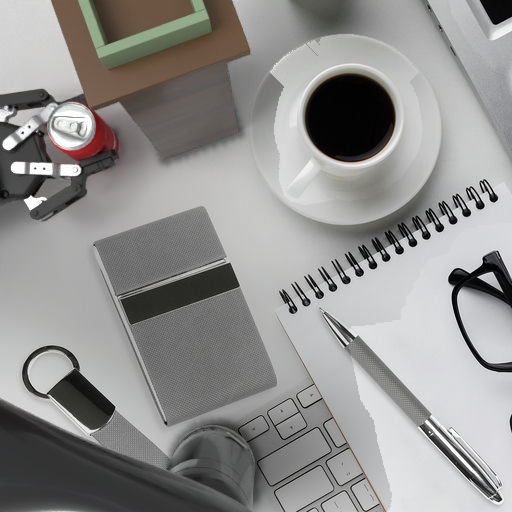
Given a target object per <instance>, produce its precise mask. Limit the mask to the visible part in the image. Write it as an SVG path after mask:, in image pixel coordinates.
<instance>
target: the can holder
mask: <svg viewBox="0 0 512 512" xmlns="http://www.w3.org/2000/svg"><path fill="white" fill-rule="evenodd" d="M50 3H51V5H52V8H53V11H54V14H55V16H56V19H57V22H58V24H59V27H60V30H61V33H62V36H63V39H64V41H65V44H66V47H67V50H68V54H69V56H70V58H71V61H72V64H73V66H74V70H75V72H76V75H77V78H78V82H79V84H80V86H81V89H82V93H83V94H84V95H85V98H86V101H87V103H88V106H89V108H90V109H91V110H92V111H95V112H96V111H98V110H99V111H100V110H102V109H104V108H107V107H110V106H112V105H115V104H118V103H119V102H121V101H124V100H126V99H129V98H132V97H135V96H137V95H140V94H143V93H146V92H148V91H151V90H154V89H157V88H159V87H162V86H165V85H168V84H170V83H173V82H176V81H179V80H181V79H184V78H187V77H190V76H192V75H195V74H198V73H201V72H204V71H206V70H209V69H212V68H215V67H217V66H220V65H223V64H226V63H227V64H228V63H230V62H231V63H232V62H234V61H237V60H239V59H242V58H245V57H248V56H250V55H251V48H250V47H251V46H250V43H249V42H248V39H247V36H246V33H245V31H244V28H243V26H242V23H241V20H240V18H239V14H238V13H237V9H236V7H235V4H234V2H233V0H50Z"/></svg>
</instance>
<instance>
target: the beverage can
mask: <svg viewBox="0 0 512 512" xmlns="http://www.w3.org/2000/svg"><path fill="white" fill-rule="evenodd" d="M47 132H48V135H47V137H48V139H49V141H50V143H51V144H52V145H53V147H55V149H57V150H58V151H60V152H61V153H63V154H65V155H67V156H68V157H70V158H71V159H73V160H74V161H76V162H78V163H80V160H83V159H86V158H89V157H91V156H94V155H96V154H99V153H102V152H105V151H107V150H110V149H115V150H116V151H117V153H118V154H119V149H120V142H119V138H118V135H117V134H116V132H115V130H114V129H113V128H112V127H111V126H110V125H109V124H108V123H107V122H106V121H105V120H104V119H103V118H102V117H101V116H100V115H99V114H98V113H97V112H96V111H92V110H91V109H90V108H89V106H88V105H86V104H84V103H81V102H74V101H73V102H66V103H63V104H61V105H59V106H57V107H56V108H55V109H54V110H53V111H52V112H51V114H50V116H49V118H48V122H47Z"/></svg>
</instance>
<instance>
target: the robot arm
mask: <svg viewBox="0 0 512 512" xmlns="http://www.w3.org/2000/svg"><path fill="white" fill-rule="evenodd" d="M73 101H74V102H81V103H84V104H86V105H88V103H87V101H86V98H85V95H84V93H81V94H79V95H76V96H73V97H70V98H67V99H65V100H62V101H57V100H56V99H55V97H54V96H53V95H52V94H50V93H49V92H48V91H47V89H44V88H36V89H29V90H21V91H14V92H8V93H1V94H0V206H3V205H6V204H9V203H11V202H14V201H22V202H24V203H25V205H26V206H27V207H28V209H29V217H30V218H31V219H32V220H35V221H39V222H47V221H48V220H50V219H51V218H53V217H54V216H56V215H57V214H60V213H61V212H63V211H64V210H66V209H67V208H69V207H71V206H72V205H73V204H75V203H77V202H78V201H80V200H82V199H83V198H85V197H86V196H87V194H88V189H87V179H88V178H89V177H91V176H93V175H96V174H98V173H101V172H103V171H106V170H109V169H112V168H113V167H114V166H116V161H117V160H119V159H120V156H119V152H118V153H117V151H116V150H115V149H110V150H107V151H105V152H102V153H99V154H96V155H94V156H91V157H89V158H86V159H83V160H80V162H79V163H58V162H57V163H56V162H53V160H52V158H51V157H50V155H49V153H48V152H47V144H46V141H45V138H46V137H48V132H47V122H48V118H49V116H50V114H51V112H52V111H53V110H54V109H55V108H56V107H57V106H59V105H61V104H63V103H66V102H73ZM40 108H43V109H42V110H41V111H40V112H39V113H37V114H34V115H33V116H31V117H30V118H29V119H27V121H25V122H24V123H23V124H22V125H18V124H15V123H11V122H9V121H10V119H12V118H15V117H16V116H17V115H18V112H19V111H26V110H34V109H40ZM47 180H55V181H57V180H58V181H64V180H70V184H69V185H68V186H66V187H64V188H63V189H61V190H60V191H58V192H57V193H55V194H53V195H52V196H50V197H46V196H40V197H35V196H36V195H37V193H38V192H39V191H40V189H41V188H42V187H43V185H44V183H45V182H46V181H47ZM255 477H256V460H255V455H254V452H253V450H252V448H251V446H250V444H249V443H248V441H247V440H246V439H245V438H244V436H242V435H241V434H240V433H238V432H237V431H236V430H235V429H232V428H230V427H227V426H224V425H220V424H219V425H218V424H208V425H203V426H200V427H197V428H195V429H192V430H191V431H190V432H188V433H187V434H185V436H183V437H182V438H181V439H180V441H179V442H178V444H177V445H176V446H175V448H174V451H173V453H172V456H171V458H170V461H169V462H168V464H167V465H166V468H163V467H160V466H158V465H155V464H153V463H150V462H147V461H144V460H142V459H139V458H137V457H134V456H131V455H129V454H126V453H123V452H121V451H118V450H116V449H113V448H110V447H107V446H105V445H103V444H100V443H97V442H94V441H92V440H90V439H88V438H86V437H83V436H80V435H78V434H76V433H74V432H72V431H69V430H67V429H65V428H63V427H60V426H58V425H57V424H55V423H53V422H51V421H48V420H46V419H44V418H42V417H40V416H38V415H36V414H34V413H31V412H30V411H28V410H26V409H24V408H21V407H19V406H18V405H15V404H13V403H11V402H9V401H7V400H6V399H3V398H1V397H0V512H253V507H254V484H255Z"/></svg>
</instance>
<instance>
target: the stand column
mask: <svg viewBox="0 0 512 512" xmlns="http://www.w3.org/2000/svg"><path fill="white" fill-rule="evenodd" d="M229 72H230V71H229V66H228V63H226V64H223V65H220V66H217V67H215V68H212V69H209V70H206V71H204V72H201V73H198V74H195V75H192V76H190V77H187V78H184V79H181V80H179V81H176V82H173V83H170V84H168V85H165V86H162V87H159V88H157V89H154V90H151V91H148V92H146V93H143V94H140V95H137V96H135V97H132V98H129V99H126V100H124V101H121V102H118V103H119V104H120V105H121V106H122V108H123V109H124V111H126V113H127V114H128V116H130V118H131V120H133V122H134V123H135V124H136V125H137V127H138V128H139V129H140V130H141V132H142V133H143V134H144V136H145V137H146V139H148V140H149V142H150V143H151V144H152V146H153V147H154V149H156V151H157V153H159V155H160V156H161V157H162V158H163V160H168V159H170V158H173V157H176V156H178V155H182V154H184V153H187V152H190V151H192V150H195V149H198V148H201V147H203V146H206V145H208V144H212V143H215V142H217V141H220V140H223V139H225V138H228V137H231V136H233V135H236V134H239V128H238V124H237V123H238V122H237V117H236V110H235V109H236V108H235V105H234V98H233V92H232V84H231V79H230V73H229Z"/></svg>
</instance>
